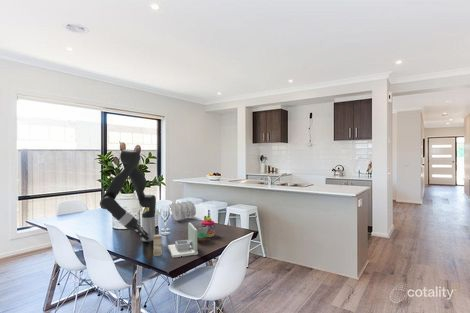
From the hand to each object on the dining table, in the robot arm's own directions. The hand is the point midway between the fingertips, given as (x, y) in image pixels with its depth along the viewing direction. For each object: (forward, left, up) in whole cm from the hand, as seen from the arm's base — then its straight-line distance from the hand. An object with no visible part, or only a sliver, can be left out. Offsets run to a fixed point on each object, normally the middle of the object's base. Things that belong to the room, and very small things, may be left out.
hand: (147, 237), depth 170 cm
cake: (-27, +47, -12) cm, 55 cm away
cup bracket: (-1, +22, -11) cm, 25 cm away
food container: (-15, +39, -12) cm, 43 cm away
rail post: (0, +6, -11) cm, 13 cm away
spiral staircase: (-88, +40, -12) cm, 97 cm away
